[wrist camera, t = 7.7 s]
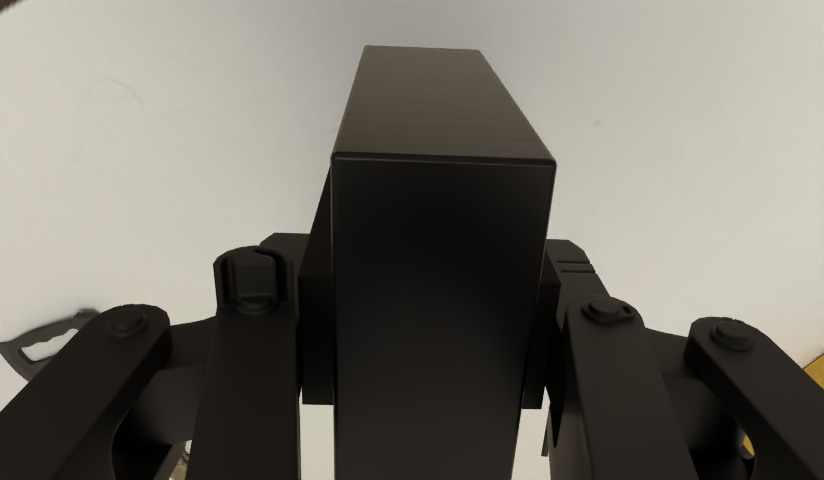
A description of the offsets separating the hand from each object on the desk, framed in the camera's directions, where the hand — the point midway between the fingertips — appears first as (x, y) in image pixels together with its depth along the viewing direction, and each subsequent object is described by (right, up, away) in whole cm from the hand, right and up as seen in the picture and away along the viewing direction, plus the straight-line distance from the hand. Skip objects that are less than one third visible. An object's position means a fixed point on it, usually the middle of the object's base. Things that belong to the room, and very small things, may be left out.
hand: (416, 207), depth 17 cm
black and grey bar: (0, -4, +3) cm, 5 cm away
